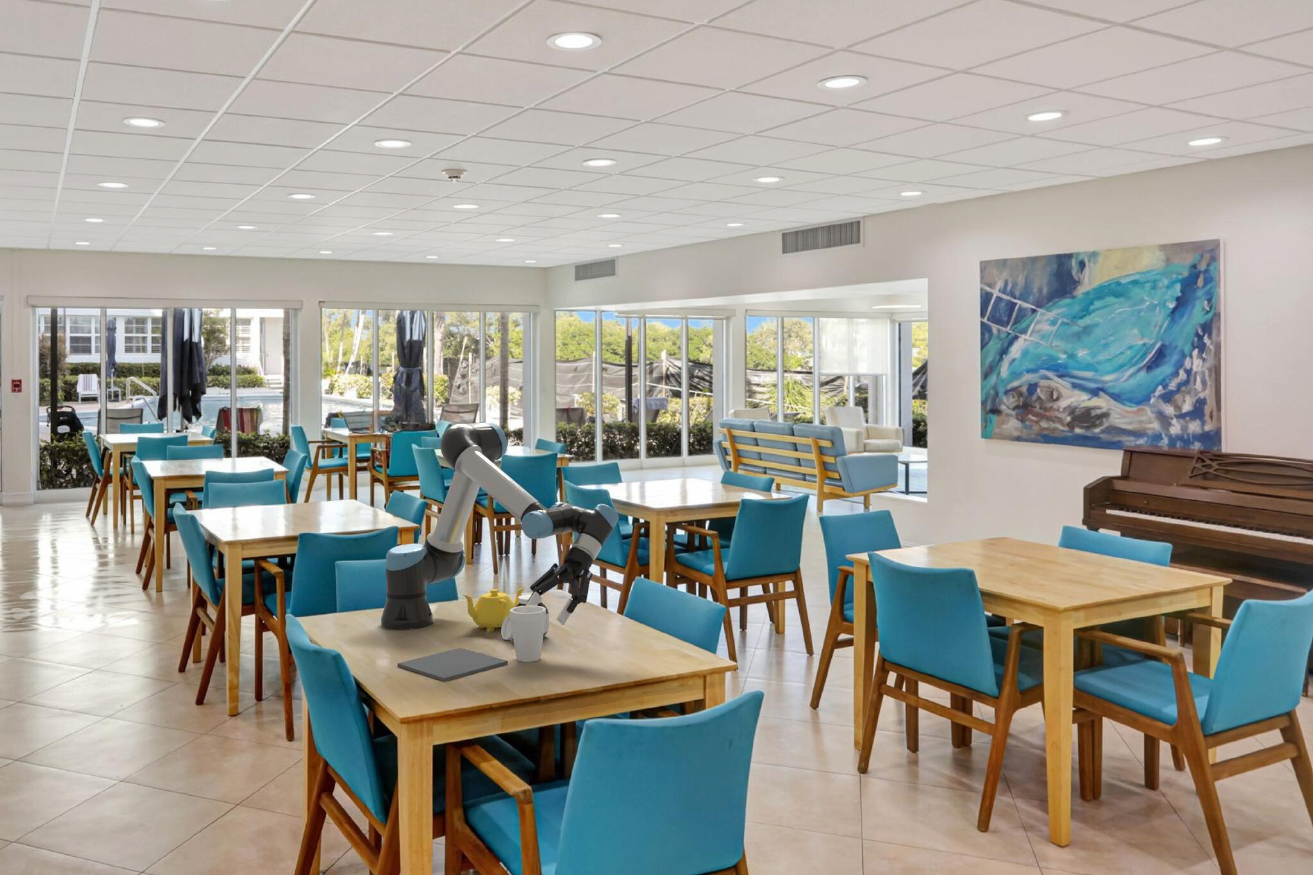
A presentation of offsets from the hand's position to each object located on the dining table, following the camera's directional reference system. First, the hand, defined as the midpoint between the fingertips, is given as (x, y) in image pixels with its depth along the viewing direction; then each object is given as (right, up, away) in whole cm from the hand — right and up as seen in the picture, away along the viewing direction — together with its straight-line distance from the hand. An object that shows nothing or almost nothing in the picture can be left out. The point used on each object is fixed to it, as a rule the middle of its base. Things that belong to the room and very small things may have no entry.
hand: (542, 618), depth 272 cm
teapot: (-17, -9, +31) cm, 36 cm away
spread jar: (-7, -9, +19) cm, 23 cm away
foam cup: (-3, -10, -2) cm, 11 cm away
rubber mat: (-22, -11, -8) cm, 26 cm away
